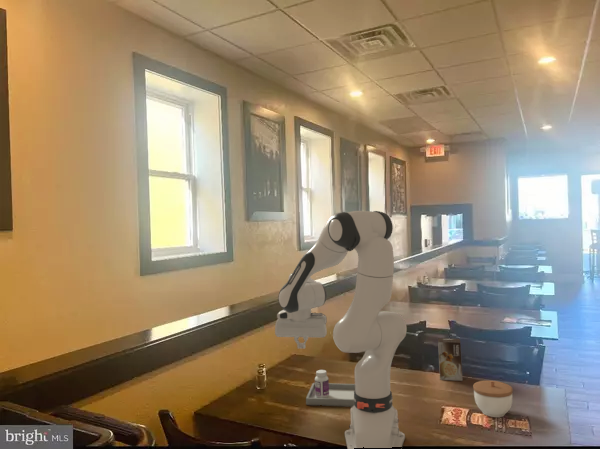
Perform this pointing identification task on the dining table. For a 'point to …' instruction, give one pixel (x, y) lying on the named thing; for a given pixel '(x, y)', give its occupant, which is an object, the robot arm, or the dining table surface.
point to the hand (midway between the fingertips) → (301, 348)
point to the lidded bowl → (493, 397)
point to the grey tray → (333, 396)
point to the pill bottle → (321, 384)
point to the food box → (450, 359)
